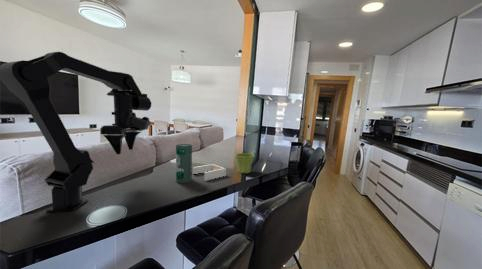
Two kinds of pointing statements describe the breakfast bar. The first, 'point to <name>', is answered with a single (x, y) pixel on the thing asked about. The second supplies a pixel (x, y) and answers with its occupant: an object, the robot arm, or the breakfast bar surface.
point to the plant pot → (244, 162)
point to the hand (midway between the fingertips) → (125, 151)
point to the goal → (210, 171)
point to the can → (183, 163)
